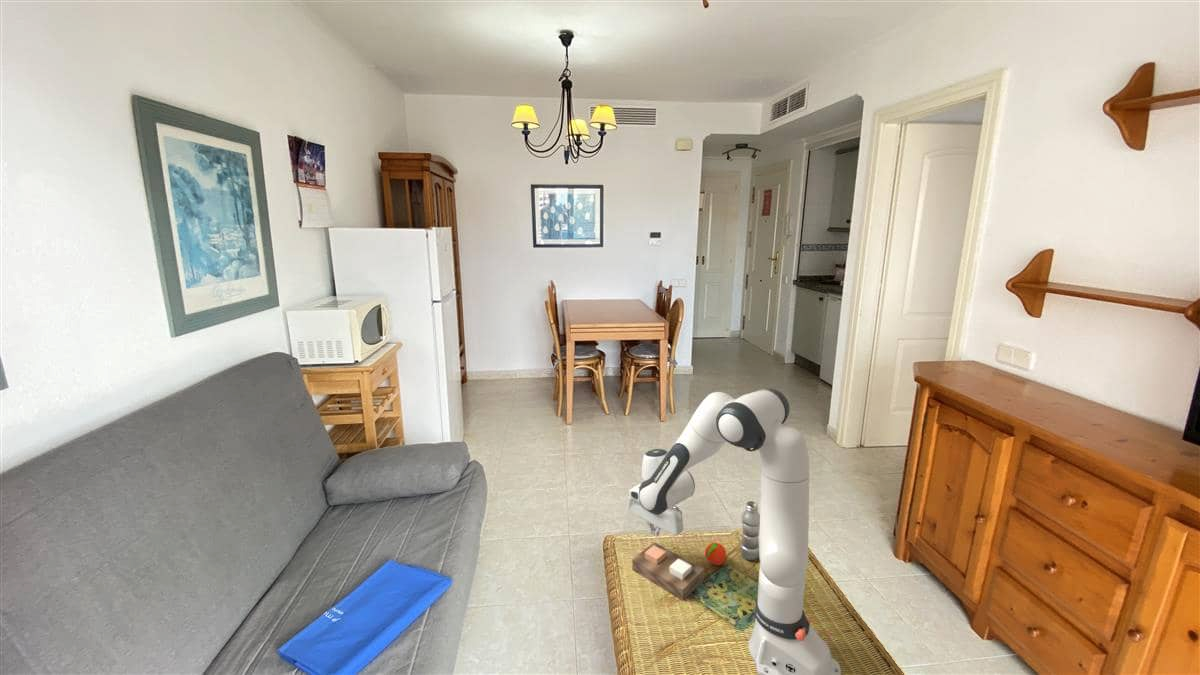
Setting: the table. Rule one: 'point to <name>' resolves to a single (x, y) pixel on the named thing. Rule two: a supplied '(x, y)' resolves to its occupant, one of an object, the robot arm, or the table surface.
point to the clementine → (715, 553)
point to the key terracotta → (655, 555)
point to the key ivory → (680, 569)
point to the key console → (663, 577)
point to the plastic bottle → (750, 532)
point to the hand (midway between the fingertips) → (654, 534)
